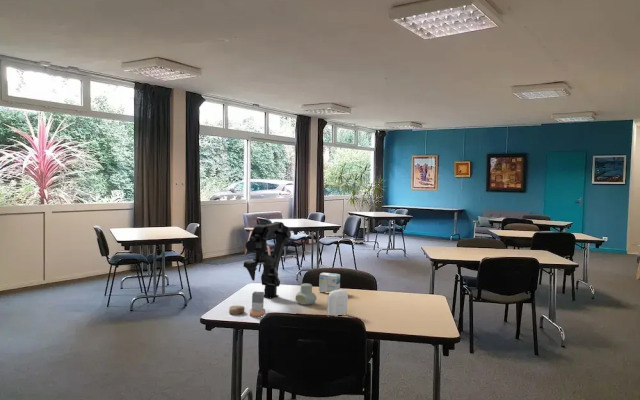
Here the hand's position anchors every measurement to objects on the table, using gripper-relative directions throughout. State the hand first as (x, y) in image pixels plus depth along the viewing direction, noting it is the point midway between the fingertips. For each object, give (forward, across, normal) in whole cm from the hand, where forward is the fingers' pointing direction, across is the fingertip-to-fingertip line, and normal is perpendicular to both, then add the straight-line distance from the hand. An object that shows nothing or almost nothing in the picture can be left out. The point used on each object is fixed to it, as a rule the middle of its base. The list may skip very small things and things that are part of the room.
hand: (259, 279), depth 224 cm
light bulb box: (+12, +42, -15) cm, 46 cm away
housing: (+10, -16, -14) cm, 24 cm away
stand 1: (+12, -20, -5) cm, 24 cm away
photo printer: (+12, +10, -42) cm, 45 cm away
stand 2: (+12, -16, -14) cm, 25 cm away
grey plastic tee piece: (+12, +15, -19) cm, 27 cm away
